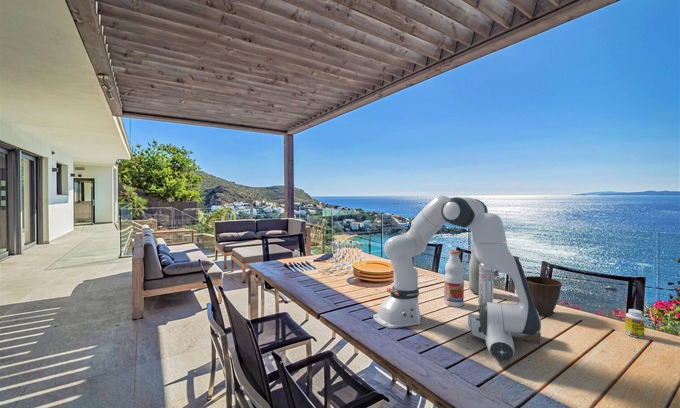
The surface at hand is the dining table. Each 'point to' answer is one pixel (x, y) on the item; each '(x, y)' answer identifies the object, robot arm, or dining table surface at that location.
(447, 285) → the fruit juice
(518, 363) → the dining table surface
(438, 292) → the dining table surface
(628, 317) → the supplement bottle
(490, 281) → the water bottle
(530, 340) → the block bottom
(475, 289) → the grey thermos flask
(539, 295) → the plant pot
